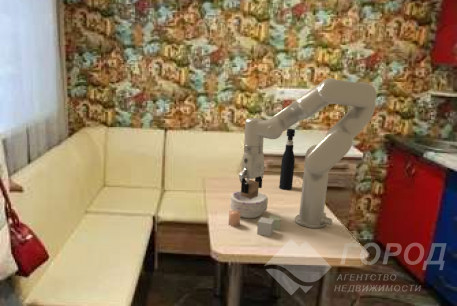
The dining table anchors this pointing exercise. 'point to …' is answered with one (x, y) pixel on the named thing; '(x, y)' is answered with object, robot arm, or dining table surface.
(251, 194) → the walnut block
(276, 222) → the sage cube
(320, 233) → the dining table surface
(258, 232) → the grey cube
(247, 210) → the paper bowls
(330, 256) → the dining table surface
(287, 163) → the wine bottle
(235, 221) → the cylinder
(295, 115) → the robot arm
